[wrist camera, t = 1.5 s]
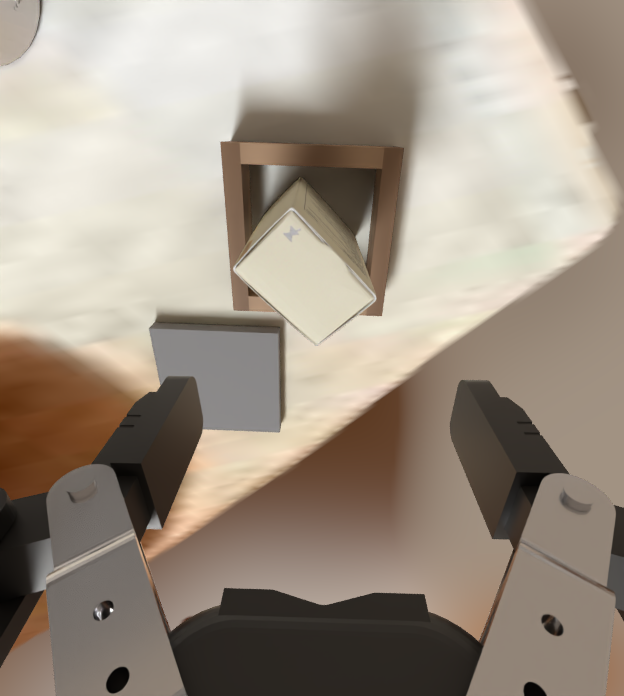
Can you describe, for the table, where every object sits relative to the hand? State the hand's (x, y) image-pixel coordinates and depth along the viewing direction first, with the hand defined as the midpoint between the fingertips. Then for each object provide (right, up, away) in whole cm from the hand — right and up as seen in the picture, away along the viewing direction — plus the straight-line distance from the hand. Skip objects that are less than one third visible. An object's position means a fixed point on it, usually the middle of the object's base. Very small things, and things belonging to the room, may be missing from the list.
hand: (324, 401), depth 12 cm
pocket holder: (0, +11, +17) cm, 20 cm away
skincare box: (0, +11, +17) cm, 21 cm away
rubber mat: (-9, -1, +24) cm, 26 cm away
